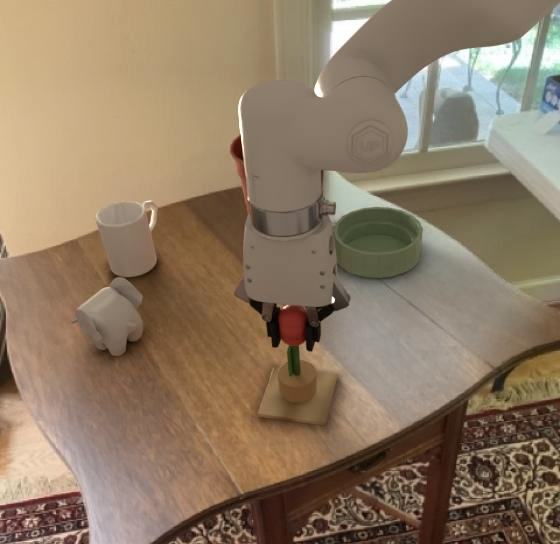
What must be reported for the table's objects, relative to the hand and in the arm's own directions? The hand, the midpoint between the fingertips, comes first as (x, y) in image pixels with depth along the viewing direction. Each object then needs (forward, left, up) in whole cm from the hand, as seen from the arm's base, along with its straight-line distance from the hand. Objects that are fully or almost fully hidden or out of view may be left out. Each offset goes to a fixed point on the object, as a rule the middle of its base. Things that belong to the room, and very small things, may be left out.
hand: (294, 341), depth 81 cm
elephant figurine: (+30, -7, -10) cm, 32 cm away
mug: (+34, -28, -10) cm, 45 cm away
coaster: (0, 0, -10) cm, 10 cm away
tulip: (0, 0, -8) cm, 8 cm away
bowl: (-6, -34, -10) cm, 36 cm away
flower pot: (+11, -40, -10) cm, 43 cm away
